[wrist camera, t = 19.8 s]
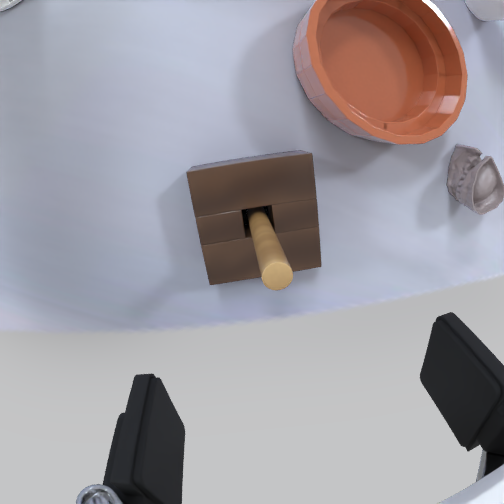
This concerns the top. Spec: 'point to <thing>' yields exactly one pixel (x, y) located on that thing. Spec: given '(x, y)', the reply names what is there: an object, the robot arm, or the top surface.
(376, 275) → the top surface
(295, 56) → the mixing bowl
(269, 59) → the top surface
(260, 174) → the holder
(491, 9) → the dixie cup
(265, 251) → the light wooden dowel
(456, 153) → the dental mold
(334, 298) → the top surface
